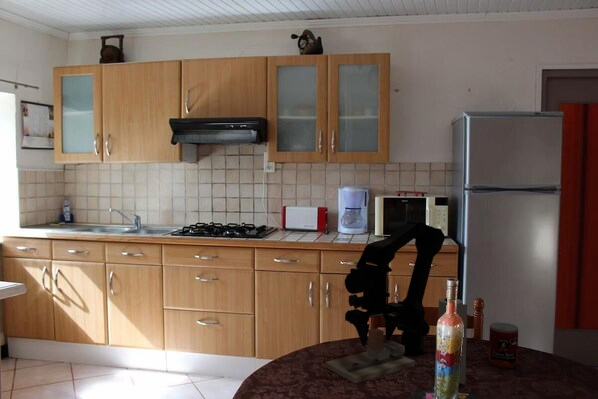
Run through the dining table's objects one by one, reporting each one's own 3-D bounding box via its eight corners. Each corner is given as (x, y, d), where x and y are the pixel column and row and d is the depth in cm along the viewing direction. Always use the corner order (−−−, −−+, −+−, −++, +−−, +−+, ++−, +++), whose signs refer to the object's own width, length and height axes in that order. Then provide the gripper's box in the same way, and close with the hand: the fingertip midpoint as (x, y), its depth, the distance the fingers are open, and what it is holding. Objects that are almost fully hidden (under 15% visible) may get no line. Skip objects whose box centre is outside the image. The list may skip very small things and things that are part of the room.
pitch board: (383, 352, 155) (383, 335, 154) (414, 366, 144) (415, 348, 144) (325, 367, 143) (325, 349, 142) (355, 383, 132) (355, 364, 131)
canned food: (488, 366, 144) (489, 328, 143) (489, 357, 151) (490, 321, 151) (517, 370, 141) (518, 332, 140) (516, 360, 148) (518, 324, 148)
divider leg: (377, 356, 147) (377, 327, 146) (389, 361, 142) (389, 332, 142) (366, 358, 144) (367, 330, 144) (378, 364, 140) (379, 334, 140)
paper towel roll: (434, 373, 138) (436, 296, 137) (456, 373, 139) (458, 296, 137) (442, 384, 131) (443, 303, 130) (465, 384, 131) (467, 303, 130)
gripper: (381, 279, 155) (380, 329, 156) (333, 287, 145) (332, 340, 146) (408, 286, 146) (407, 340, 147) (358, 295, 135) (357, 352, 136)
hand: (375, 342), depth 144 cm, fingers open, 9 cm apart
